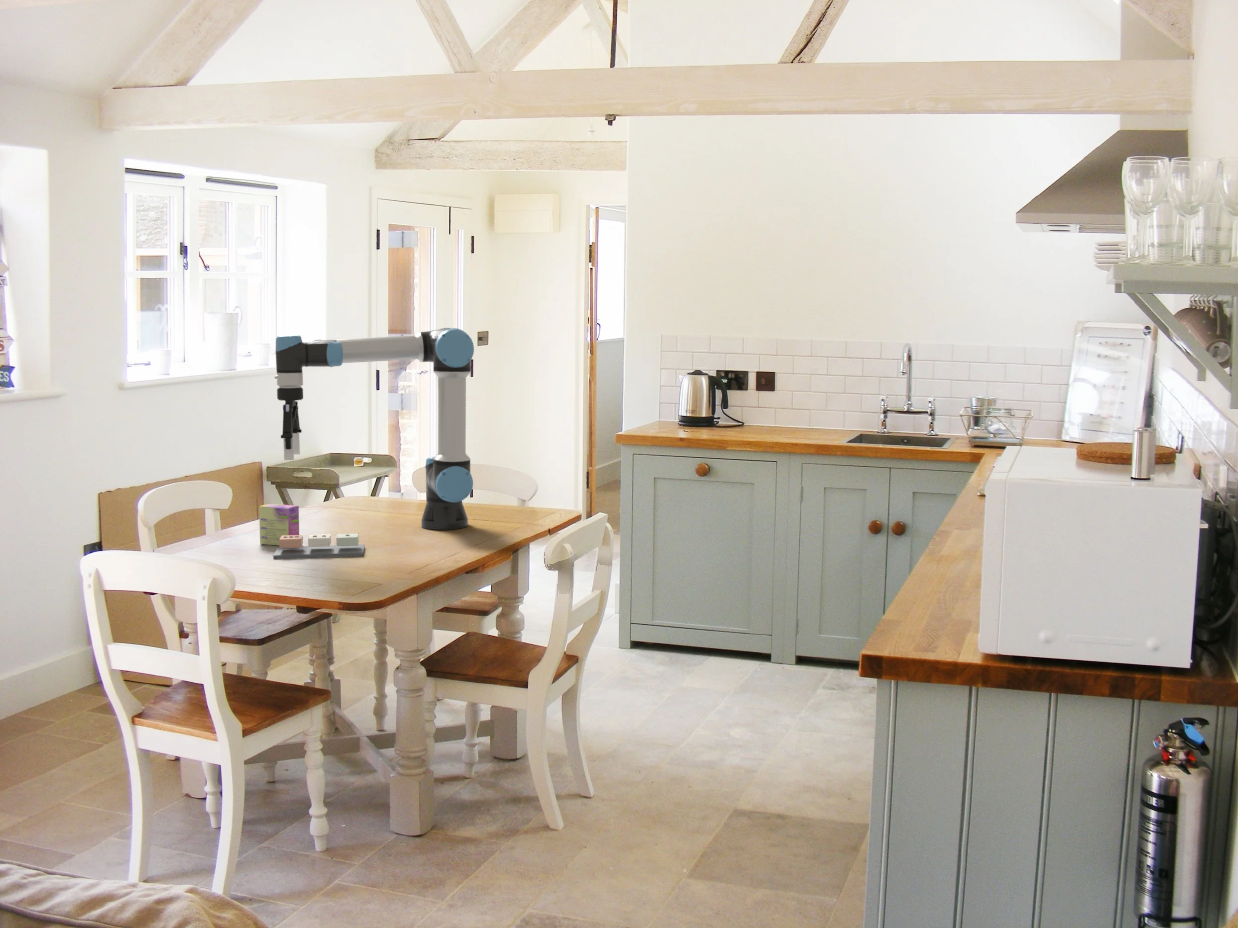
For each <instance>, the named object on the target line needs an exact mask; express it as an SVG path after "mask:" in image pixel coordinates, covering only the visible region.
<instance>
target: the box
mask: <svg viewBox="0 0 1238 928" xmlns="http://www.w3.org/2000/svg"><path fill="white" fill-rule="evenodd" d="M258 509H259V510H258V514H259V517H258V518H259V519H258V521H259V543H260V545H269V546H271V545H272V546H278V547H280V542H279V539H280V538H281V536H283V535H300V510H299V509H300V508H299V505H293V504H292V505H291V504H279V503H265V504H263V505H262V504H261V505H259V507H258Z"/></svg>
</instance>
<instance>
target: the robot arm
mask: <svg viewBox="0 0 1238 928" xmlns="http://www.w3.org/2000/svg"><path fill="white" fill-rule="evenodd" d="M302 339H303V338H302V336H301V335H297V334H293V335H292V334H285V335H283V334H282V335H278V336H277V337H276V338H275V365H276V375H275V376H274V379H275V380H276V385H277V386H278V387H277V388H276V396H277V401H284V402H285V403H284V404H283V405H282V411H283V413H282V434H281V435H280V439H283V458H284V461H294V460H295V455H300V454H301V450H300V447H301V445H300V444H301V443H300V434H301V433H302V428H301V427H300V417H299V405H298V404H299V401H302V400H303V399H304V388H303V387H302V386H304V381H303V380H304V377H303V375H304V374H303V368H304V367H305V368H307V367H310V368H311V367H313V368H315V367H319V368H321V367H322V368H323V367H324V368H326V367H328V368H329V367H330V368H334V367H341V366H342V365H343V364H351V363H371V362H386V361H387V362H389V361H406V360H407V361H408V360H411V361H412V360H418V361H419V362H421V363H433V366H432V367H433V373H434V374H435V375H436V376H437V378H438V379H437V383H438V385H437V386H438V387H437V388H438V391H437V392H438V393H437V397H438V398H437V399H438V401H437V403H438V404H437V418H438V419H437V420H438V421H437V422H438V423H437V429H438V431H437V435H438V436H437V441H438V442H437V454H436V455H435V456H430V457H427V458H426V460H425V466H424V468H425V488H426V489H425V494H426V497H425V498H426V501H425V502H426V503H425V504H426V505H425V506H424V510H423V513H422V517H421V525H420V526H421V528H423V529H427V530H437V531H438V530H441V531H442V530H459V529H464V528H466V527H468V525H469V517H468V516H467V511H466V510H465V507H464V503H463V501H464V500H465V499H466V498H468V497H469V495H470V494H471V492H472V490H473V487H474V480H473V476H472V474H471V458H470V456H469V455H468V454H467V453H466V450H467V449H466V445H467V443H466V441H467V440H466V439H467V438H466V435H467V434H466V432H467V431H466V430H467V428H466V427H467V426H466V425H467V423H466V422H467V421H466V420H467V419H466V418H467V413H466V412H467V411H466V410H467V408H466V407H467V404H466V403H467V394H466V393H467V377H468V376H469V375H470V374H471V373H472V359H473V356H474V353H475V346H474V342H473V339H472V338H471V336H470V335H469V334H468V333H467V332H465V331H464V330H463V329H460V328H455V327H444V328H439V329H438V328H437V329H435V330H428V331H419V332H417V334H416V335H401V336H400V335H399V336H398V335H397V336H381V337H380V336H377V337H361V338H360V337H358V338H342V339H341V338H340V339H323V340H322V339H315V340H313V341H303V340H302Z"/></svg>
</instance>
